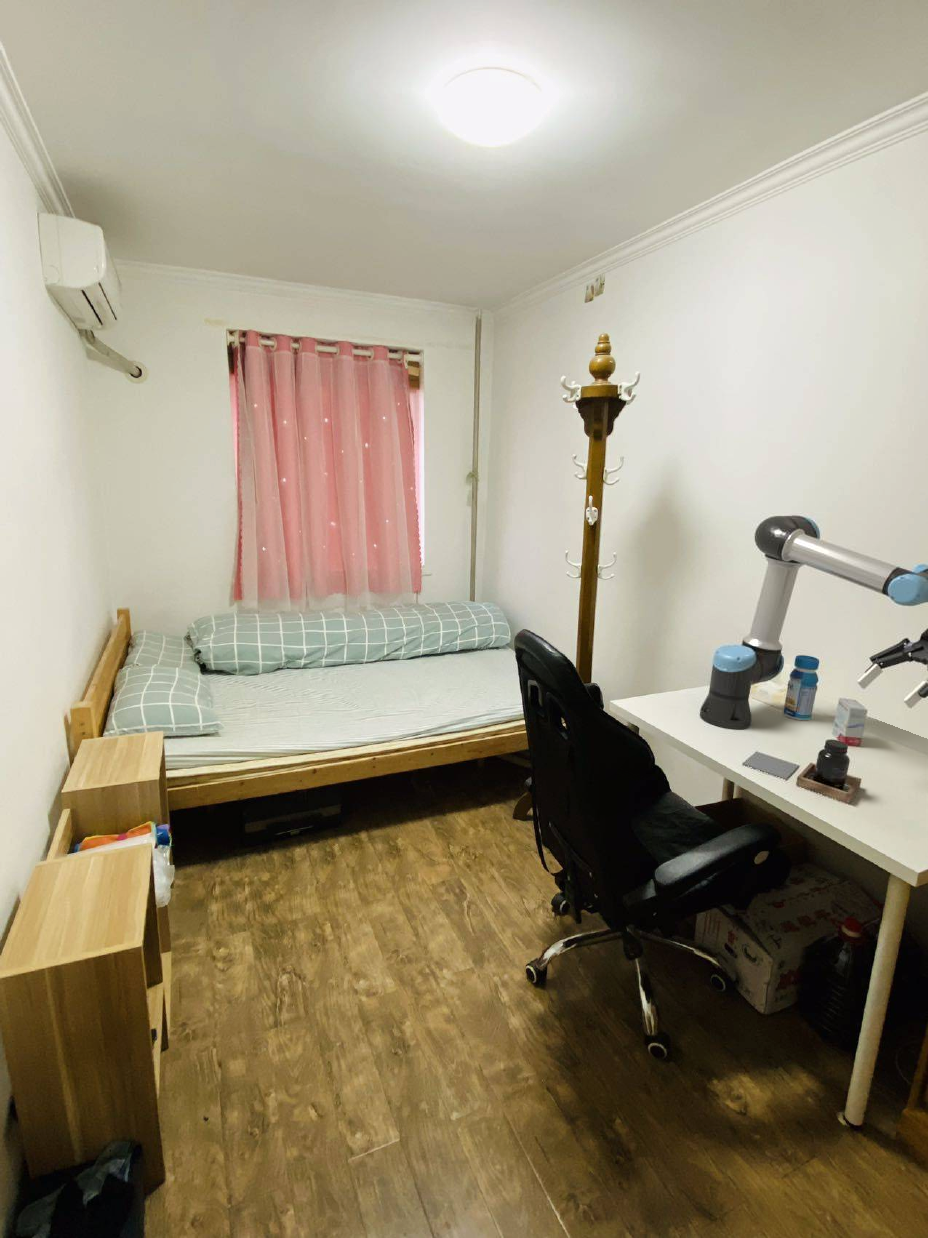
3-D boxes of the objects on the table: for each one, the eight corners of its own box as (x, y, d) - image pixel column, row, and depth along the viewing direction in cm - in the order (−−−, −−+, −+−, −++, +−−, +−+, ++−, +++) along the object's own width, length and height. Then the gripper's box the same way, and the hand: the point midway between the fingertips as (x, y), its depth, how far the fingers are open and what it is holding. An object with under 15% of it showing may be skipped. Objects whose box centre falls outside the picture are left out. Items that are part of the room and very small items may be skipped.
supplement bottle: (806, 780, 155) (814, 737, 152) (831, 780, 156) (840, 737, 153) (824, 794, 148) (833, 749, 145) (850, 794, 149) (859, 749, 146)
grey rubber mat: (741, 764, 162) (742, 763, 162) (756, 752, 170) (756, 751, 169) (785, 780, 154) (786, 778, 154) (798, 766, 162) (799, 765, 162)
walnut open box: (795, 785, 152) (797, 776, 151) (809, 771, 160) (810, 762, 159) (848, 804, 144) (850, 794, 143) (859, 787, 152) (861, 778, 152)
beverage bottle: (808, 723, 192) (820, 663, 187) (779, 716, 197) (790, 657, 192) (813, 716, 198) (824, 658, 194) (785, 709, 204) (795, 652, 199)
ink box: (860, 747, 176) (868, 709, 173) (842, 745, 177) (850, 707, 174) (848, 735, 184) (856, 699, 182) (831, 733, 185) (838, 697, 183)
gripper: (1005, 659, 137) (936, 723, 138) (908, 632, 161) (850, 687, 162) (991, 636, 135) (921, 702, 136) (895, 612, 159) (836, 668, 159)
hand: (882, 694), depth 149 cm, fingers open, 13 cm apart
